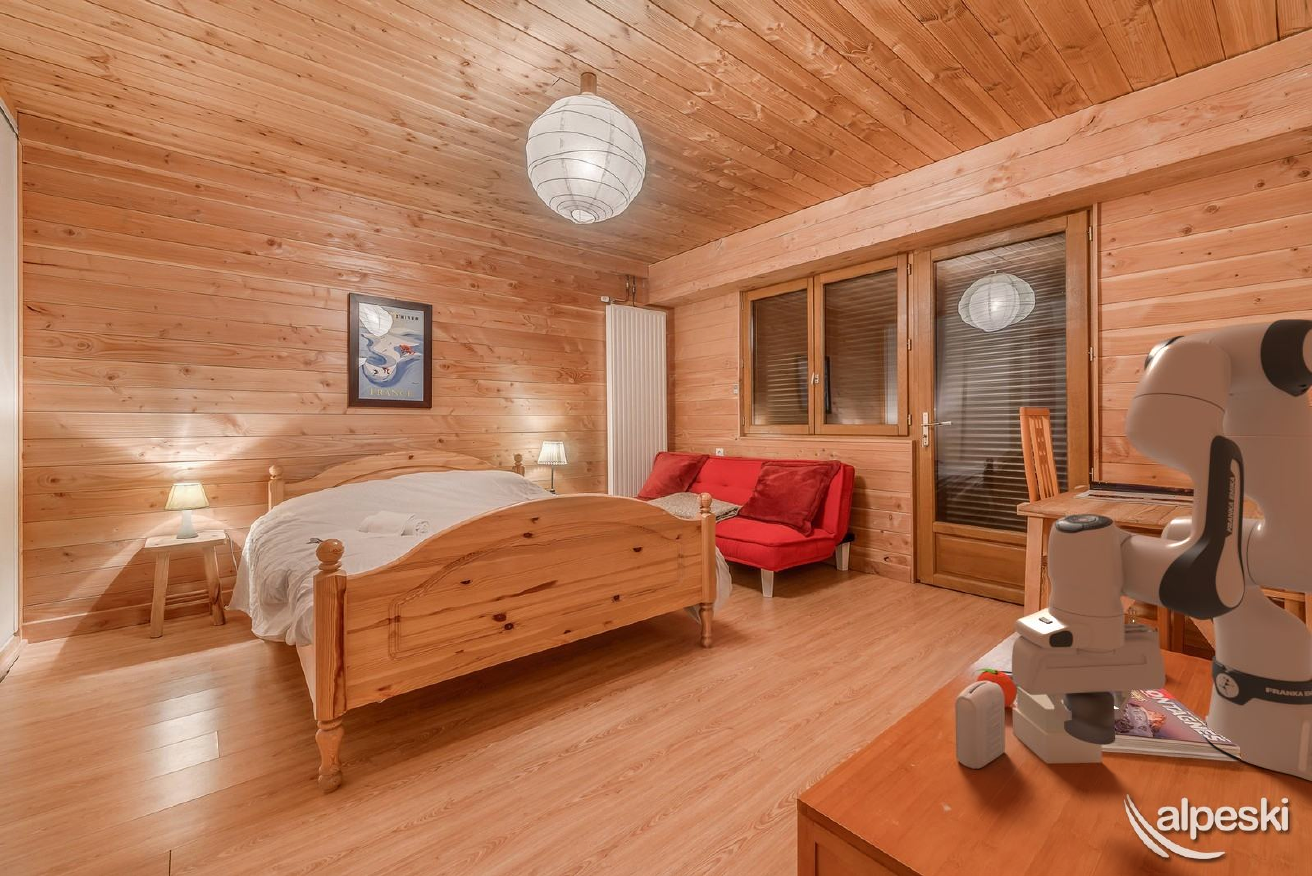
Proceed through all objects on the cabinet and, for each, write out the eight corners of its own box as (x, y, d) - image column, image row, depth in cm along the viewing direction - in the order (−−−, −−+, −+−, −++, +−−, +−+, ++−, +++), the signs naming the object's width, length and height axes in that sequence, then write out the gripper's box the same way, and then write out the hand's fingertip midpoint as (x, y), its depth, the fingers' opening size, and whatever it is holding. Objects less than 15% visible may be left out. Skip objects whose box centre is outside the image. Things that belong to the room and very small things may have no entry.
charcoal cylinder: (1093, 721, 86) (1092, 682, 86) (1126, 743, 80) (1125, 702, 80) (1054, 723, 86) (1053, 684, 86) (1084, 745, 80) (1082, 704, 80)
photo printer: (983, 740, 100) (982, 671, 99) (1009, 751, 96) (1008, 680, 96) (952, 761, 94) (950, 688, 94) (978, 773, 90) (976, 698, 90)
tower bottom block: (1063, 734, 101) (1062, 706, 101) (1101, 764, 92) (1101, 734, 92) (1013, 734, 102) (1012, 707, 101) (1046, 764, 93) (1046, 735, 92)
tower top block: (1062, 708, 101) (1062, 686, 101) (1095, 732, 93) (1095, 708, 93) (1017, 708, 101) (1016, 686, 101) (1046, 732, 93) (1045, 709, 93)
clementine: (964, 703, 113) (964, 668, 113) (979, 692, 117) (978, 658, 117) (1009, 718, 107) (1008, 681, 106) (1022, 706, 111) (1022, 670, 111)
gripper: (1139, 615, 85) (1141, 704, 86) (1003, 621, 86) (1007, 710, 86) (1177, 631, 79) (1179, 727, 79) (1030, 637, 79) (1034, 733, 80)
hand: (1088, 718), depth 83 cm, fingers closed on charcoal cylinder, 6 cm apart
